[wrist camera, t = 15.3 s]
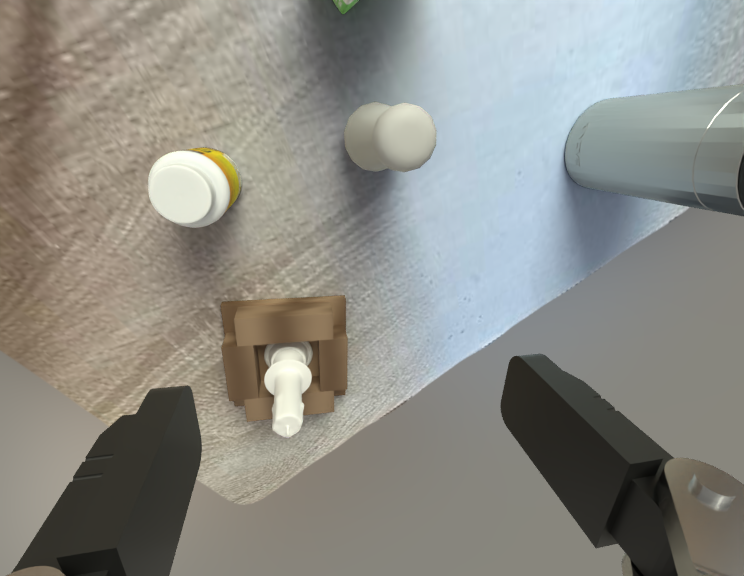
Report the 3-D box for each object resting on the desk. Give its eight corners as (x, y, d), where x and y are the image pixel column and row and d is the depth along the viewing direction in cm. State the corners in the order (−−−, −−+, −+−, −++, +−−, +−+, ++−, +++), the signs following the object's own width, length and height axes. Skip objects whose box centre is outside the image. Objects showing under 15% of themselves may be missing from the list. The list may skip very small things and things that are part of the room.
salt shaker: (399, 167, 37) (449, 183, 25) (343, 170, 36) (367, 188, 24) (399, 103, 35) (454, 87, 23) (339, 104, 34) (363, 88, 22)
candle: (313, 371, 43) (320, 451, 32) (266, 375, 42) (256, 459, 31) (312, 331, 41) (319, 402, 30) (262, 334, 40) (251, 409, 29)
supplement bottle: (224, 137, 33) (198, 139, 24) (252, 196, 35) (239, 218, 26) (165, 159, 33) (115, 170, 23) (198, 217, 35) (164, 247, 26)
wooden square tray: (344, 295, 41) (349, 310, 38) (344, 389, 46) (348, 411, 42) (222, 301, 39) (214, 319, 35) (235, 400, 44) (230, 424, 40)
